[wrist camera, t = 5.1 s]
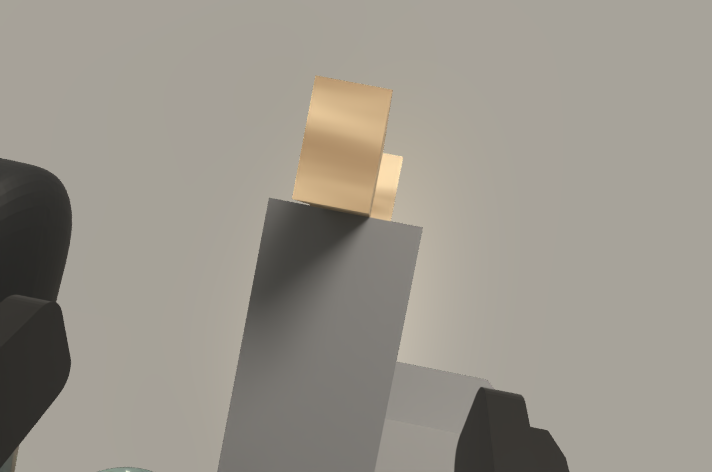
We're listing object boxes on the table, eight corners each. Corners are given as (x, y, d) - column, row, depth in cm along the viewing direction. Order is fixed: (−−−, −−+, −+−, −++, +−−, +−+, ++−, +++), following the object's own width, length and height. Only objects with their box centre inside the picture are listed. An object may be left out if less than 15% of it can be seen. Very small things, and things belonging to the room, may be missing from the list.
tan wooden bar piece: (407, 221, 17) (431, 97, 17) (253, 191, 17) (277, 68, 17) (387, 222, 38) (398, 167, 38) (319, 209, 38) (329, 154, 38)
